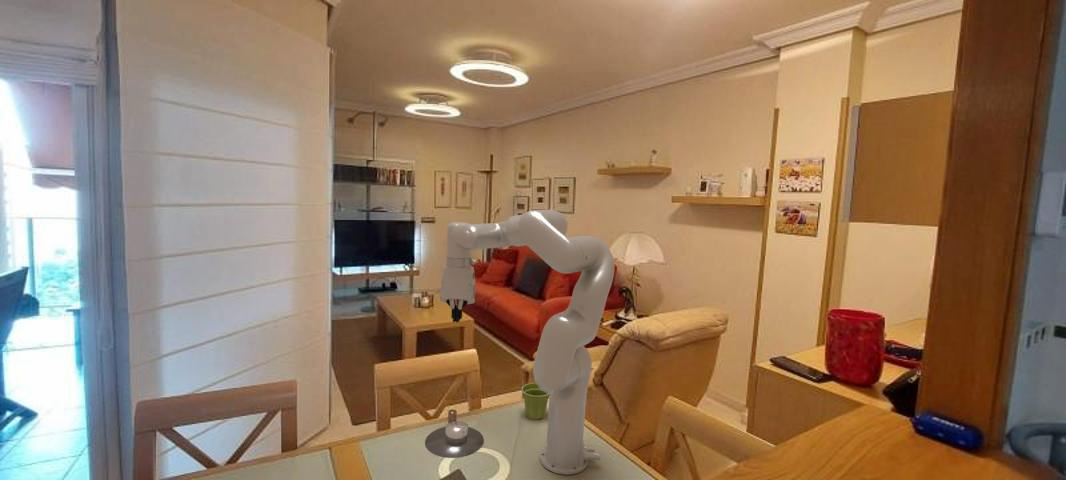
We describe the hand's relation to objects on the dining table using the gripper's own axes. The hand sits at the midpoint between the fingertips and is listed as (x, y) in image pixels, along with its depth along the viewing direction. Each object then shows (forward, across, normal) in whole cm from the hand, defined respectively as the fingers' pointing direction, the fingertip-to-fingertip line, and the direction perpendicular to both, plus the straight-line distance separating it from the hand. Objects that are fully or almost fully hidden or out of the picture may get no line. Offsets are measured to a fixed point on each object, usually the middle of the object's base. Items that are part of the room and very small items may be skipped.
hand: (456, 320), depth 141 cm
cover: (+28, -5, +19) cm, 34 cm away
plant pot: (+29, -26, -1) cm, 39 cm away
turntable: (+29, -5, +19) cm, 35 cm away
